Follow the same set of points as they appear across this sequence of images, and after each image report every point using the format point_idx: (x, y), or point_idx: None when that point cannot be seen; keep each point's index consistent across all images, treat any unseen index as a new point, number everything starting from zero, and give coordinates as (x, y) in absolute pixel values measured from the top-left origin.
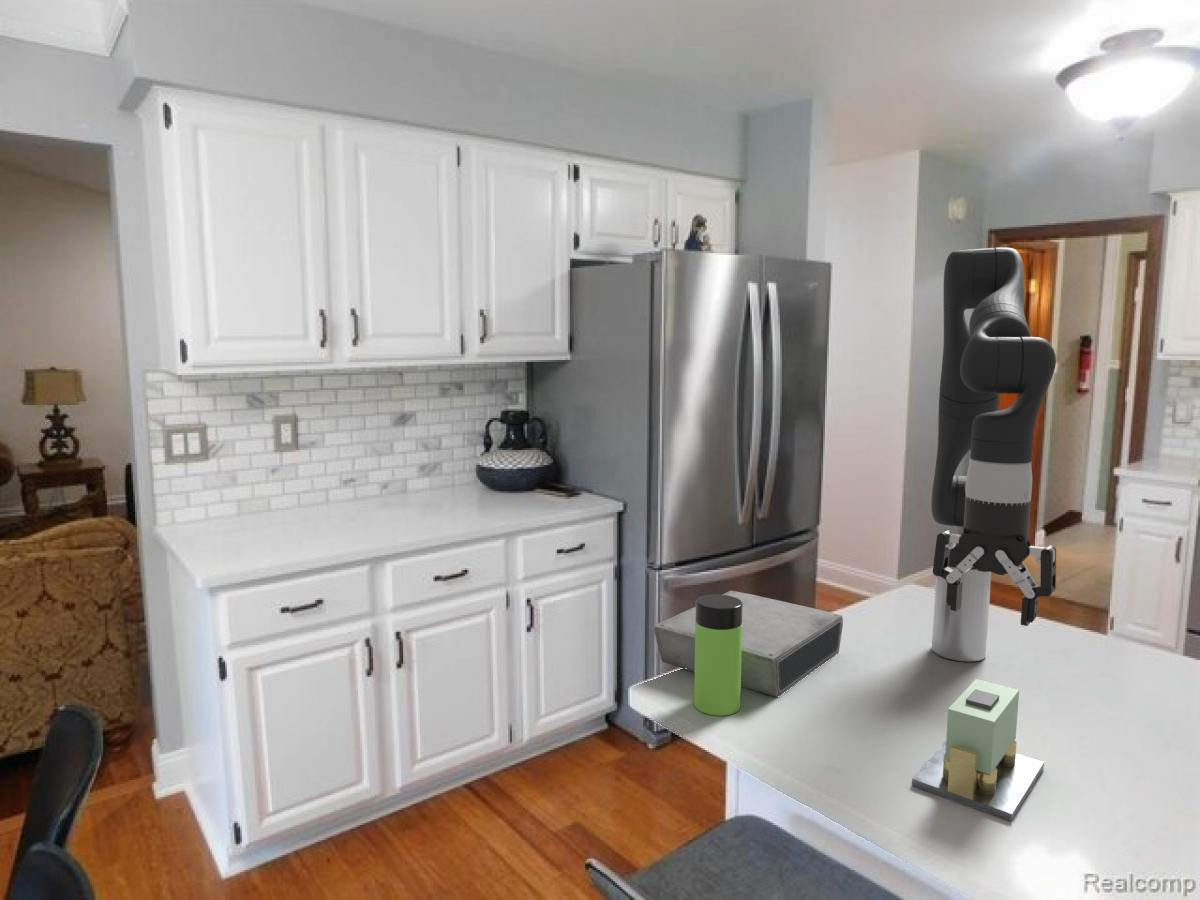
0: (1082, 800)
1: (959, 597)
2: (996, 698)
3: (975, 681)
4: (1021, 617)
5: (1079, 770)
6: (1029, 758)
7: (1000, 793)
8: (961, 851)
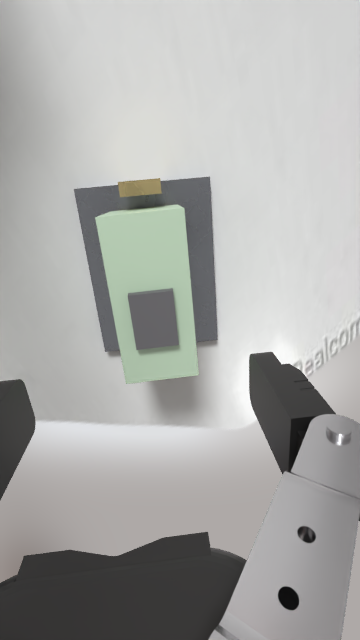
0: (267, 228)
1: (7, 429)
2: (174, 307)
3: (101, 232)
4: (259, 419)
5: (248, 139)
6: (190, 182)
7: (193, 308)
8: (197, 411)
